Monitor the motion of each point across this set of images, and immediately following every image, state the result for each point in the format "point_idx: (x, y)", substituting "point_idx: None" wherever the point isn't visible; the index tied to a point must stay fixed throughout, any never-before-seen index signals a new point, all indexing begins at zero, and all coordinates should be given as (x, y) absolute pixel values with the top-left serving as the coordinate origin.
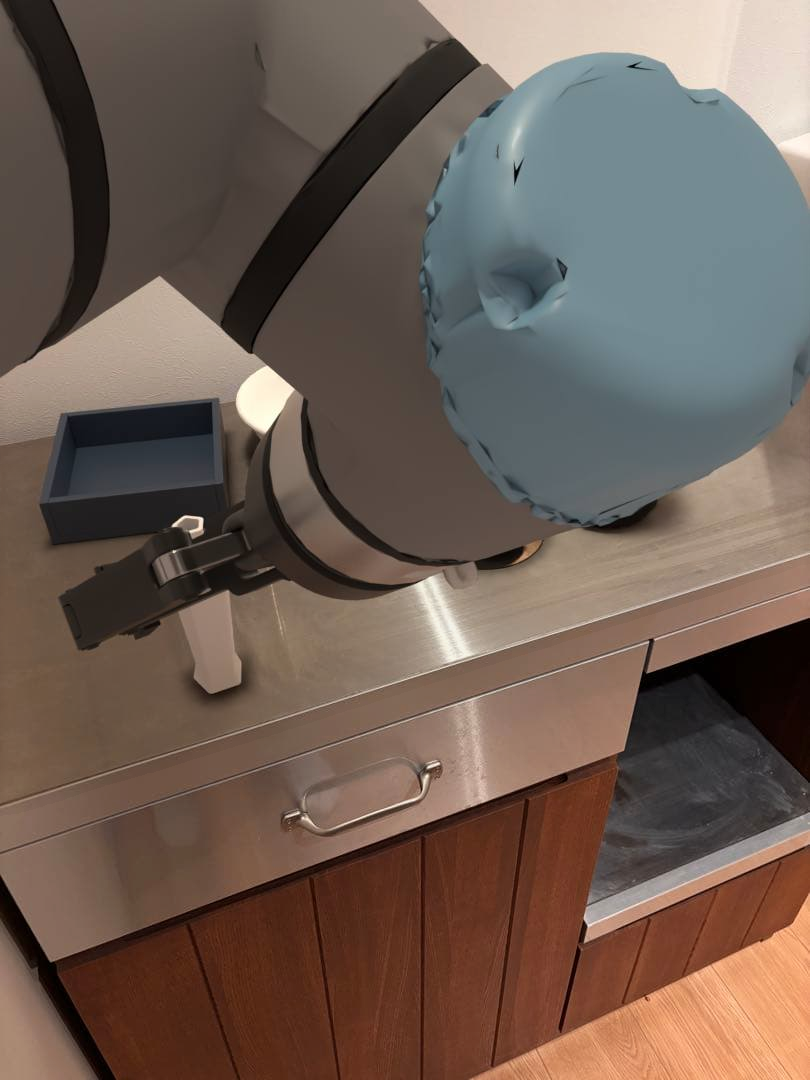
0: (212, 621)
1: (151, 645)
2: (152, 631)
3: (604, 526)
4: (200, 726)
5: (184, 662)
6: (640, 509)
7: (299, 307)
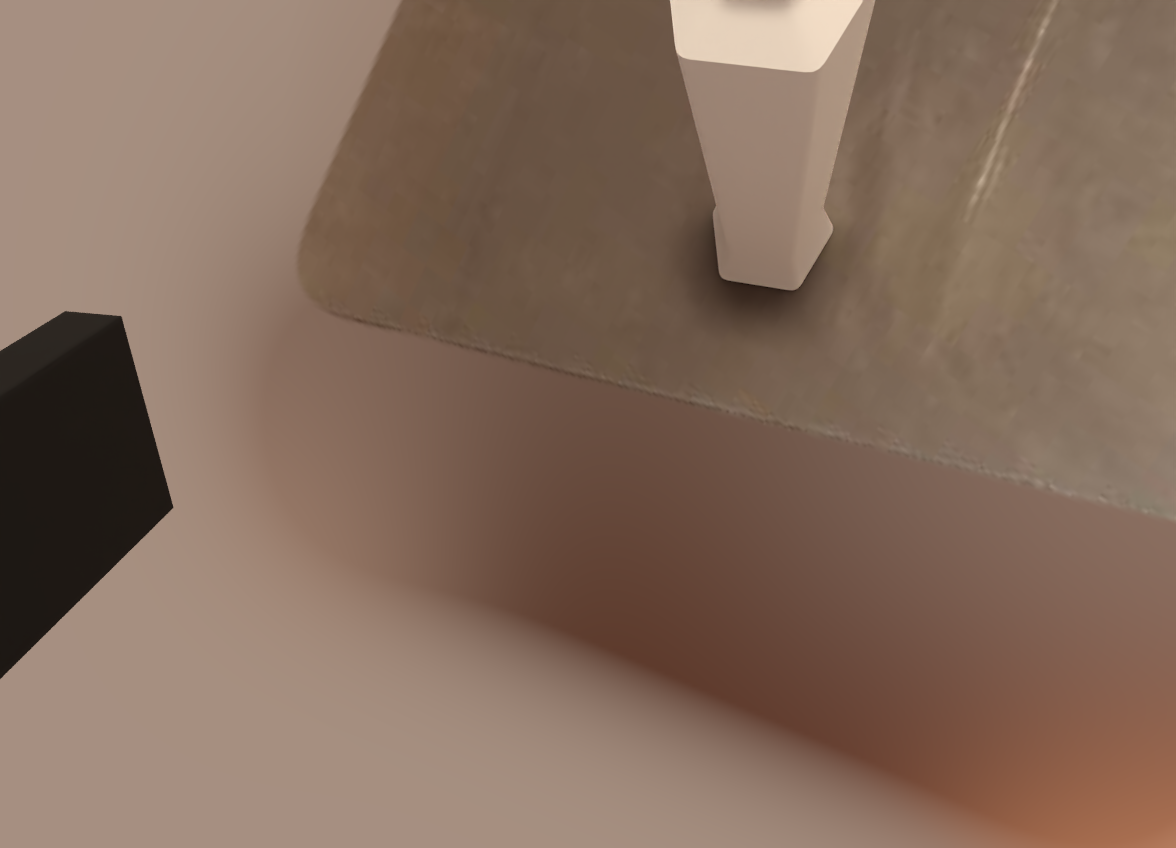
0: (755, 173)
1: None
2: (39, 635)
3: None
4: (656, 349)
5: None
6: None
7: None
